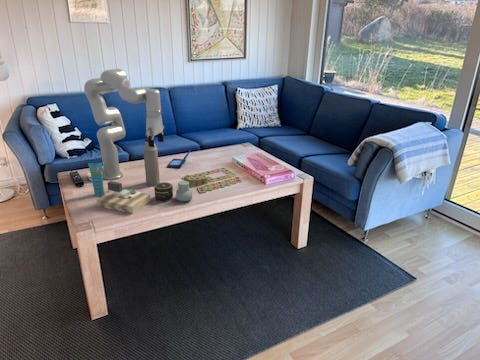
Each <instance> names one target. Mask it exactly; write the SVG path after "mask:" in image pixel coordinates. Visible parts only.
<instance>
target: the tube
mask: <svg viewBox="0 0 480 360" xmlns="http://www.w3.org/2000/svg"><path fill="white" fill-rule="evenodd" d="M87 166H88V169H89V172H90V176H91V177H90V178H91V182H92V186H93V192H94V196H96V197H102V196H103V195H105V192H104V179H103V176H102V174H103V172H102V168H103V162H87Z"/></svg>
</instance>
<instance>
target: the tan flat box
mask: <svg viewBox="0 0 480 360" xmlns="http://www.w3.org/2000/svg"><path fill="white" fill-rule="evenodd" d="M118 193H121V194H126V195H131V196H132V197H127V196H122V195H117V196H114V193H113V191H111V190H109V192H107V193H104V194H103V195H102V196H99V198H97V199H96V203H97V207H100V208H105V209H110V210H114V211H119V212H124V213H127V214H128V213H129V214H134V213H136V212H138V211H139V210H140V209H141V208H143V207H144V206H146V205H148V203H150V202H151V194H150V193H145V192H141V191H137V190H135V189H133V188H132V189H131V188H128V189H126V188H122V191H121V192H118Z"/></svg>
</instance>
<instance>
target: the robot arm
mask: <svg viewBox="0 0 480 360" xmlns="http://www.w3.org/2000/svg"><path fill="white" fill-rule="evenodd" d="M130 83H131V81H130V80H129V78H128V76H127V73H126V72H125V71H124V70H123V69H120V68H114V69H106V70H104V71H102V73H101V74H100V77H97V78H96V77H95V78H91V79H89V80H86V82H85V83H84V85H83V88H84V90H83V91H84V93H85V97H86V98H87V100H88V102H89V104H90V108H91V112H92V115H93V118H94V121H95V123H96V124H97V125H98V126H105V127H101V128H99V129H98V130H97V132H96V137H97V138H96V139H97V140H98V144H99V146H100V147H99V149H100V153H101V160H102V176H103V180H109V181H112V180H117V179H120V178H122V177H123V175H124V174H123V172H122V171H121V170H120V163H119V153H118V148H117V146H116V145H115V144H114V142H116V141H120V140H122V139H124V138H125V137H126V133H127V132H126V128H125V124H124V121H123V118H122V114H121V112H120V111H119V109H118V108H117V107H116V106H109V107H108V106H107V103H106V100H105V98H104V97H103V96H102V95H100V94H105V93H111V92H114V91H117V93H118V95H119V97H120V98H121V99H122V100H123V101H125V102H127V103H128V104H129V103H130V104H133V105H136V104H141V103H145V108H146V109H145V110H146V121H145V130H146V131H145V136H146V139H148V144H149V147H154V143H155V139H154V138H155V136H157V141H158V143H159V142H160V143H163V142H165V141H164V134H165V133H164V132H165V125H163V118H162V104H161V93H160V90H159V89H155V88H150V87H147V86H145V87H144V86H143V87H138V88H130V86H131V84H130ZM110 124H111V125H110ZM106 125H109V126H106ZM153 139H154V140H153Z"/></svg>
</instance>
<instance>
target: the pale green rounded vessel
mask: <svg viewBox="0 0 480 360" xmlns="http://www.w3.org/2000/svg"><path fill="white" fill-rule="evenodd" d="M177 185H178V186H177V187H178V188H177V189H176V190H175V191H176V192H175V199H176V200H177V201H179V202H189V201H191V200H192V198H193V188H190V187H189V182H188V181H184V180H181V181H179V182H178V184H177Z"/></svg>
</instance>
